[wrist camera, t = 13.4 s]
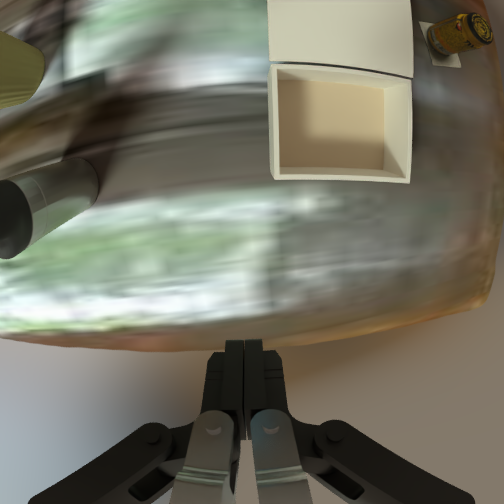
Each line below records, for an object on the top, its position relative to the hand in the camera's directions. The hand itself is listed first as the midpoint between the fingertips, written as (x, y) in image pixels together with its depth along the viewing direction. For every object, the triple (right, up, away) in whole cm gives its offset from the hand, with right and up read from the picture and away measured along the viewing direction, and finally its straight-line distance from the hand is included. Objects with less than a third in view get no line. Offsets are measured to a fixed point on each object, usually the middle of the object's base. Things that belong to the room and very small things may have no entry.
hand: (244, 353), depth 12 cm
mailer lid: (+11, +32, +11) cm, 36 cm away
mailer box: (+12, +23, +26) cm, 36 cm away
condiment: (+32, +40, +19) cm, 55 cm away
